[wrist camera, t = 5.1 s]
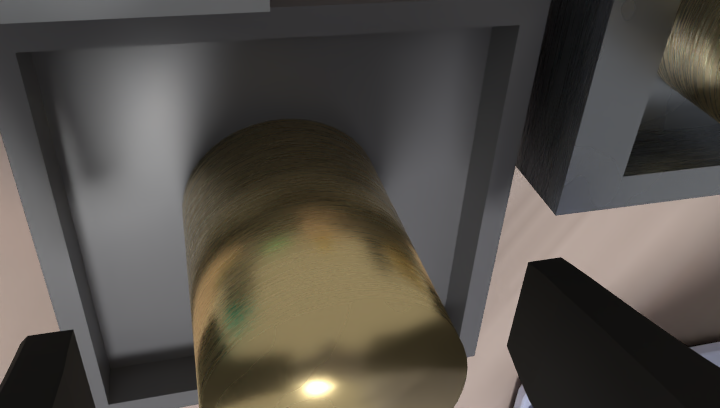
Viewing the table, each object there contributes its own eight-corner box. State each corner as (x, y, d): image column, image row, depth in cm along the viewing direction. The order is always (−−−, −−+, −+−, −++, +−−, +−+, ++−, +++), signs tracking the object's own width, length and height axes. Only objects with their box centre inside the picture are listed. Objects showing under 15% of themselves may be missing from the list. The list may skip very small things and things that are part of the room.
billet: (371, 266, 16) (449, 455, 12) (192, 290, 15) (212, 505, 11) (383, 110, 13) (486, 283, 9) (171, 127, 12) (186, 327, 8)
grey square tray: (452, 313, 18) (474, 356, 17) (91, 370, 16) (88, 423, 15) (514, -33, 13) (551, -5, 12) (-15, -15, 11) (-33, 20, 9)
